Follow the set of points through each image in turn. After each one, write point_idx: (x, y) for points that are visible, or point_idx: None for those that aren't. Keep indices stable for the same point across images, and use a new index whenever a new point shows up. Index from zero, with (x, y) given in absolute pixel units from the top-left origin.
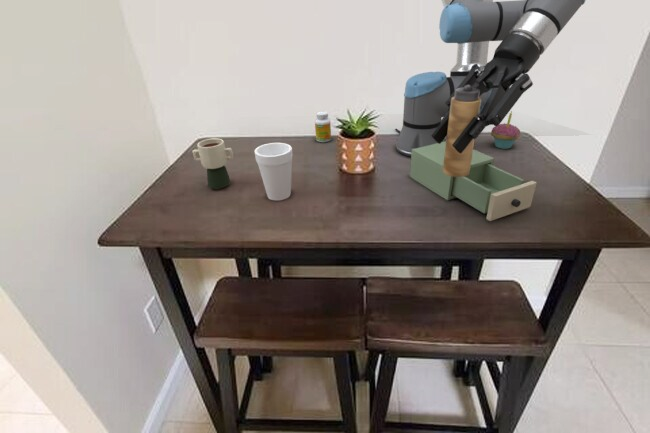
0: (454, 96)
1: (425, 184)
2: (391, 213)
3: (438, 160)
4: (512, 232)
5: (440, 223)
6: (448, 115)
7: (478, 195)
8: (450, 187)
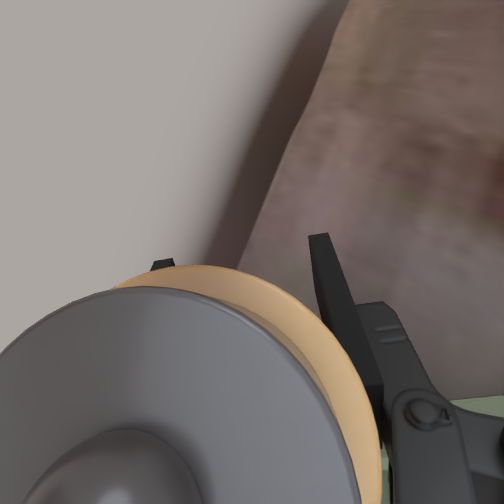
0: (253, 313)
1: (497, 397)
2: (372, 235)
3: None
4: None
5: None
6: (349, 335)
7: None
8: None
